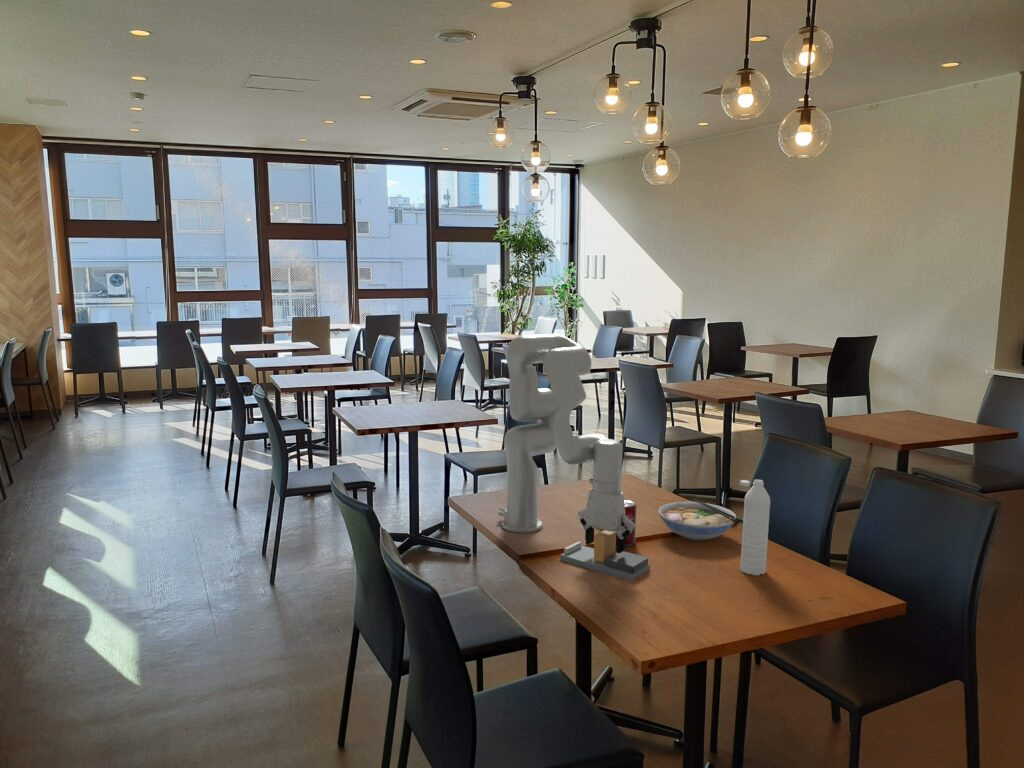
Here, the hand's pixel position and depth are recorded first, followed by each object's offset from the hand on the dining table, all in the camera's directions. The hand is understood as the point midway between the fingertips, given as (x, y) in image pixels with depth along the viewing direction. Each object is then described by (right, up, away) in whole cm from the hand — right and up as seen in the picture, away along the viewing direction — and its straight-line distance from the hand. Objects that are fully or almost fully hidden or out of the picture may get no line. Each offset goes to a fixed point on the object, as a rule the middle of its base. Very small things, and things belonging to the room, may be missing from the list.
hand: (604, 547), depth 209 cm
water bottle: (+38, -6, -3) cm, 39 cm away
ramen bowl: (+30, -2, +24) cm, 38 cm away
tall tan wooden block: (+3, -3, -2) cm, 5 cm away
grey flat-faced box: (+5, -4, -4) cm, 8 cm away
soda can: (+7, -3, +18) cm, 19 cm away
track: (0, -5, +1) cm, 5 cm away
